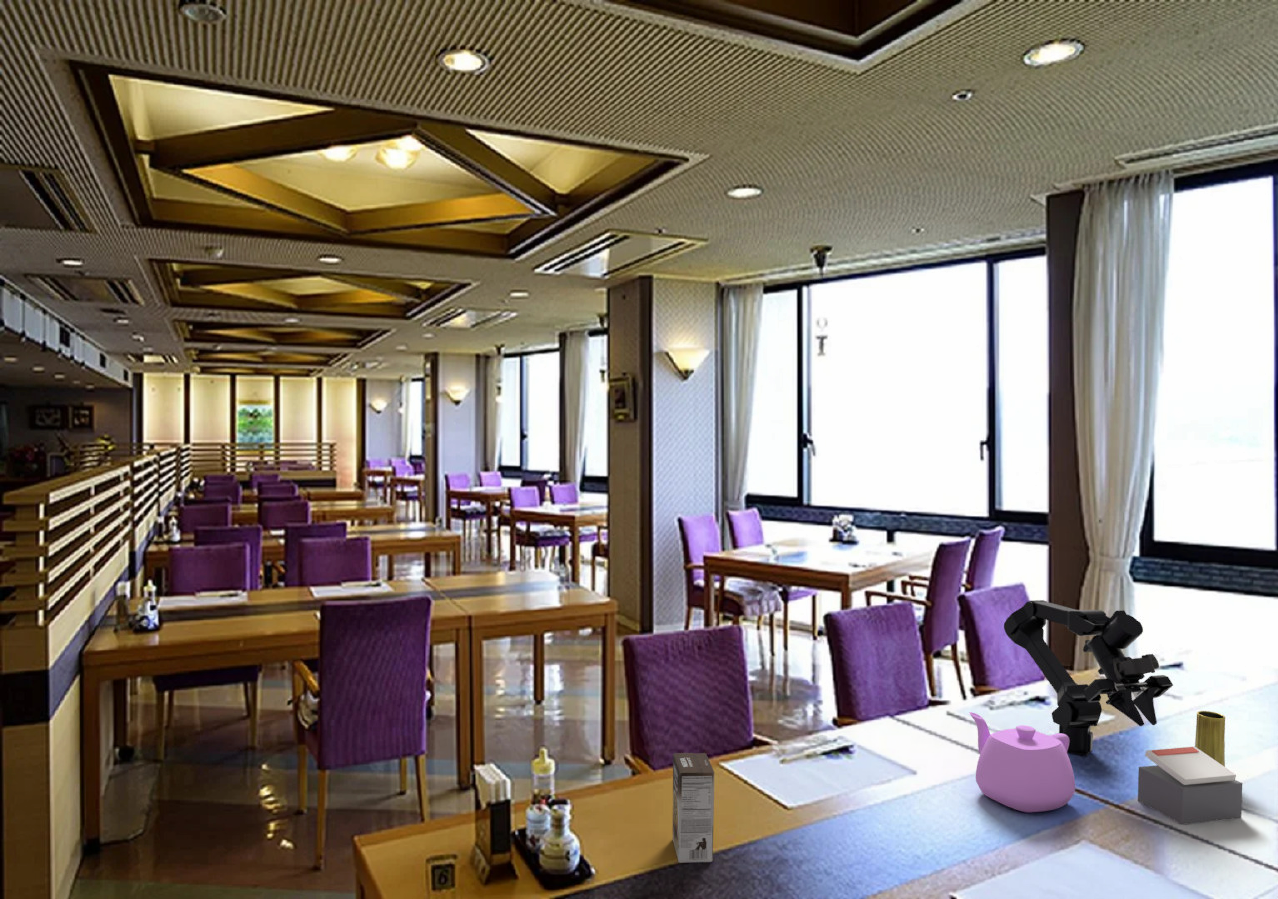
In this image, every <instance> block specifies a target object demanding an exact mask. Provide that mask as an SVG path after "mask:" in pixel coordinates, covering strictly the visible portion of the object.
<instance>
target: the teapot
mask: <svg viewBox="0 0 1278 899" xmlns="http://www.w3.org/2000/svg"><path fill="white" fill-rule="evenodd" d="M968 713H969V715H970V717H971V718H972V719H973V721H974V722H975V724H976V729H977V748H978V749H977V750H978V752H979V757H978V760H977V764H976V769H975V781H976V784H977V786H978V787H979V789H980V792H981V793H982V794H983V795H984V796H986V797H988V798H989V799H991V800H994V801H995V802H997V803H1000V804H1001V805H1004V806H1006V807H1008V808H1010V809H1014V810H1017V811H1020V812H1024V813H1029V814H1030V813H1031V814H1032V813H1038V812H1039V813H1040V812H1041V813H1042V812H1048V811H1049V812H1050V811H1052V810H1053V811H1054V810H1056V809H1060V808H1061V807H1064V806H1065V805H1067V804H1068V803H1069V802H1070V801H1071V799H1072V798H1073V796H1074V794H1075V791H1076V782H1075V781H1076V780H1075V773H1074V770H1073V767H1072V766H1073V765H1072V763H1071V760H1070V757H1069V755H1068V752H1067V751H1068V747H1069V737H1068V736H1067V735H1065V734H1062V733H1059V732H1058V733H1054V734H1051V735H1048V734H1046V733H1043V732H1040V731H1038V730H1036V728H1034V727H1032V726H1030V725H1022V724H1021V725H1017V726H1016V727H1015V728H1008V729H1001V730H999V731H995V732H993V733H990V730H989V726H988V724H987V721H986V720H985V719H984V718H983V717H982V716H981V715H979V714H977V713H975V712H968Z"/></svg>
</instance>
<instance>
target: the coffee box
mask: <svg viewBox="0 0 1278 899" xmlns="http://www.w3.org/2000/svg"><path fill="white" fill-rule="evenodd" d="M714 812H715V771H714V768H713V766H712V764H711V761H710V759H709V757H708V755H707V753H706V752H702V753H700V752H699V753H696V752H695V753H694V752H677V753H676V752H675V753H673V754H672V841H673V847H674V850H675V854H676V858H677V863H682V864H683V863H684V864H685V863H712V862H713V859H714V820H715V818H714V817H715V813H714Z"/></svg>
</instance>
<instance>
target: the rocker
mask: <svg viewBox="0 0 1278 899" xmlns="http://www.w3.org/2000/svg"><path fill="white" fill-rule="evenodd" d="M1144 757H1146V758H1147V759H1149V760H1150V761H1151V762H1152V763H1154V764H1156V765H1158V766H1159V767H1161V768H1162V769H1163V770H1165V771H1166V772H1167V773H1169V774H1170V775H1171V776H1173V777H1174V778H1175V779H1177V780H1178V781H1179V782H1181V783H1182V784H1183V785H1190V784H1200V783H1211V782H1221V781H1232V780H1236V777H1237V774H1236V773H1234V772H1233V771H1231V770H1230V769H1229V768H1227V767H1226V766H1225V767H1224V766H1223V765H1221V764H1220V763H1218V762H1217V761H1215V760H1214V759H1212V758H1211V757H1209V756H1208V755H1207V754H1205V753H1204V752H1202V751H1201V750H1199V749H1198V748H1196V747H1195V746H1185V747H1173V748H1171V747H1170V748H1160V749H1149V750H1145V753H1144Z"/></svg>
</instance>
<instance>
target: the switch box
mask: <svg viewBox="0 0 1278 899" xmlns="http://www.w3.org/2000/svg"><path fill="white" fill-rule="evenodd" d="M1137 781H1138V782H1137V801H1138V802H1139V803H1141V804H1143V805H1146V807H1148V808H1151V809H1153V810H1154V811H1156V812H1158V813H1160V814H1162V815H1163V816H1166V817H1167V818H1169V819H1171V820H1172V821H1175V822H1177V823H1179V825H1191V824H1199V823H1209V822H1219V821H1227V820H1236V819H1237V820H1238V819H1242V810H1243V809H1242V807H1243V806H1242V805H1243V782H1241V781H1238V780H1236V779H1235V780H1232V781H1221V782H1211V783H1200V784H1190V785H1183V784H1182V783H1181V782H1179V781H1178V780H1177V779H1175V778H1174V777H1173V776H1171V775H1170V774H1169V773H1167V772H1166V771H1165V770H1163V769H1162V768H1161V767H1159V766H1158V765H1157V764H1156V765H1147V766H1144V765H1143V766H1138V780H1137Z"/></svg>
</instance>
